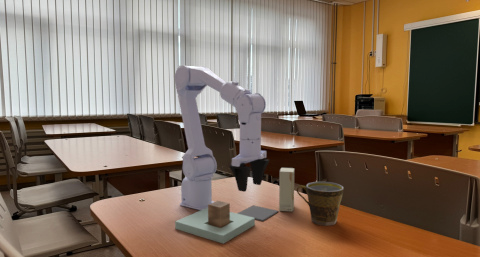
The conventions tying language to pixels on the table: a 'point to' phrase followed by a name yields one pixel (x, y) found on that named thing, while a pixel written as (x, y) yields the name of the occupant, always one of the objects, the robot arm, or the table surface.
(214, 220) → the walnut block
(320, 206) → the ceramic cup
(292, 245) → the table surface
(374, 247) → the table surface
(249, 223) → the pocket board
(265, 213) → the rubber mat
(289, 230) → the table surface
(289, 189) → the skincare box
